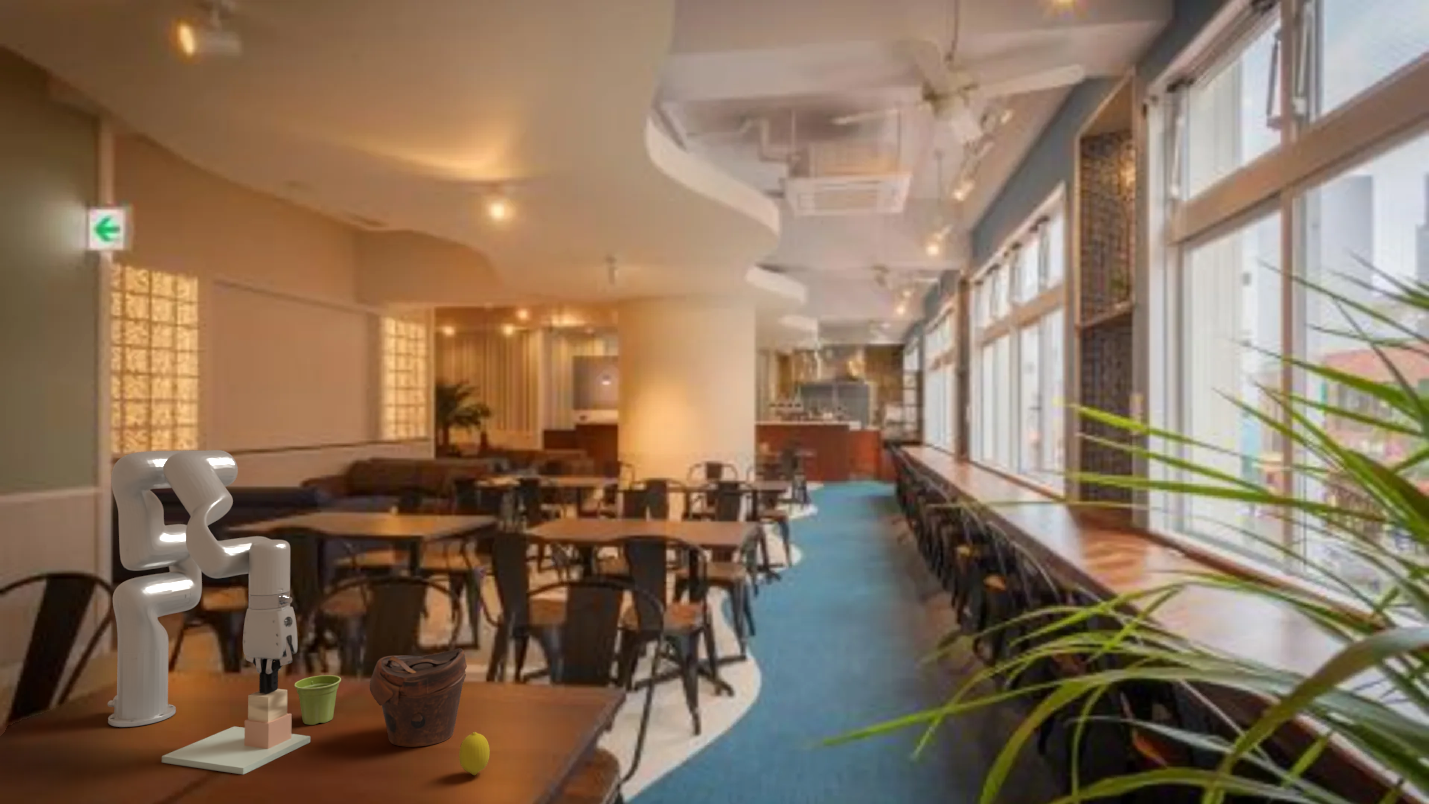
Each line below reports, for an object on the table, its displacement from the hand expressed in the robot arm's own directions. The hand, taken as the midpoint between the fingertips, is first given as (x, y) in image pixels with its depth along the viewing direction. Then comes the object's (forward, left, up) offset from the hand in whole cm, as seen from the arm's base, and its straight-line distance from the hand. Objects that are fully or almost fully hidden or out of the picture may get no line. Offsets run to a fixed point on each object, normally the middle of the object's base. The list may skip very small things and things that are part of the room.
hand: (268, 691), depth 174 cm
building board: (-4, -3, -11) cm, 13 cm away
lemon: (+48, 0, -12) cm, 49 cm away
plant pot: (-2, +16, -12) cm, 20 cm away
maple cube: (0, 0, -5) cm, 5 cm away
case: (+26, +14, -12) cm, 32 cm away
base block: (0, 0, -10) cm, 10 cm away
